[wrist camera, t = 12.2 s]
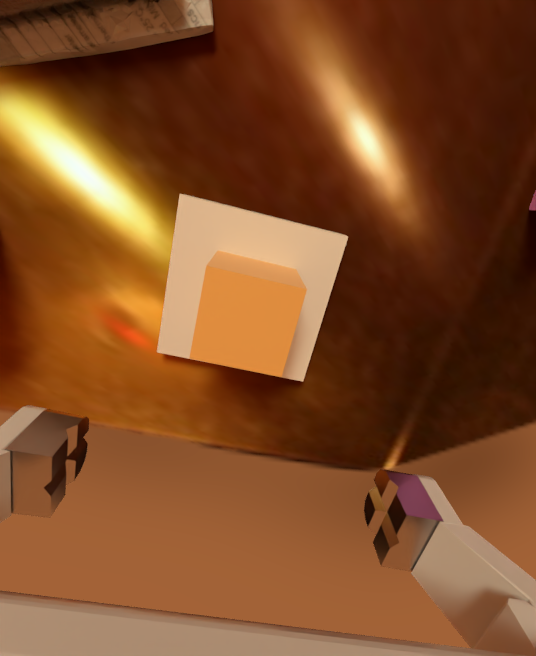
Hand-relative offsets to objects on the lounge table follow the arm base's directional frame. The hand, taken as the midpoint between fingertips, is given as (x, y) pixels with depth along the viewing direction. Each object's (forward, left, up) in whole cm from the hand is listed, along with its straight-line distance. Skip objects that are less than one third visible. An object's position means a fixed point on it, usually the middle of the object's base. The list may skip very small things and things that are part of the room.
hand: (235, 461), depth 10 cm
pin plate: (0, 0, -19) cm, 19 cm away
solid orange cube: (0, 0, -17) cm, 17 cm away
